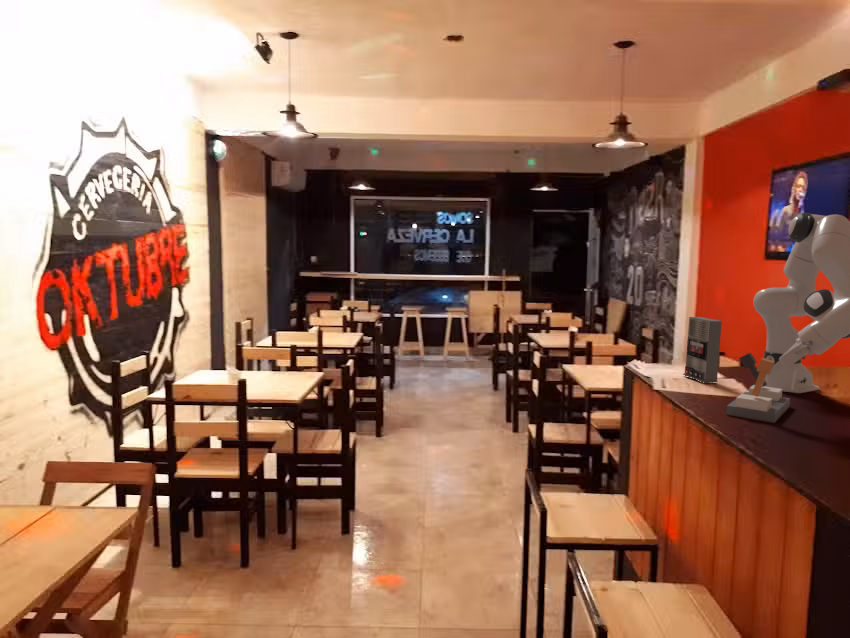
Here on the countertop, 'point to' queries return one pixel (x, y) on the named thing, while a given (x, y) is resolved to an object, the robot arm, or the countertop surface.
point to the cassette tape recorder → (703, 349)
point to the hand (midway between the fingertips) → (774, 368)
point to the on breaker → (751, 365)
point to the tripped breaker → (762, 374)
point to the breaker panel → (760, 414)
